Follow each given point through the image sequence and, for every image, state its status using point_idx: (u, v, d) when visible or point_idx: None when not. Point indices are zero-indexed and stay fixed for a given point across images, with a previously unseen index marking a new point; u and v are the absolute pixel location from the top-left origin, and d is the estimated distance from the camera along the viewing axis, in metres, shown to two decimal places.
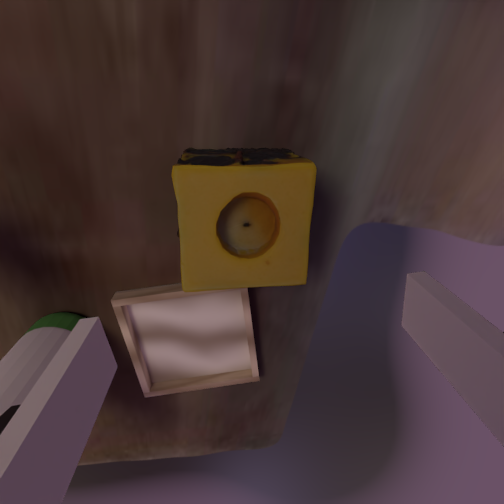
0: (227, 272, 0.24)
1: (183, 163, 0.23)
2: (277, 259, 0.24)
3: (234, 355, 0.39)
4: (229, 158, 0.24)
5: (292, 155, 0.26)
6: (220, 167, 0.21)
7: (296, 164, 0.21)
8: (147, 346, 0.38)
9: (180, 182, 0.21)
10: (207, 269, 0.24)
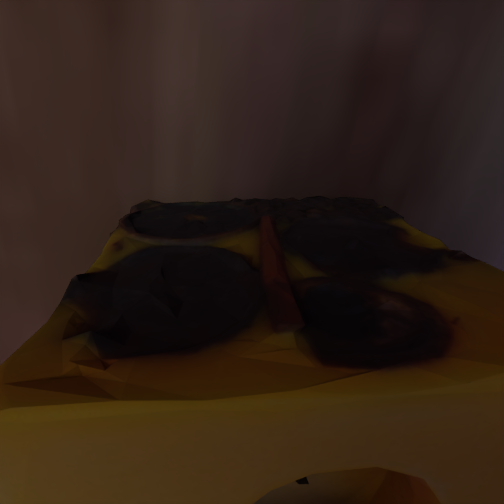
0: None
1: (84, 299, 0.07)
2: None
3: None
4: (244, 266, 0.07)
5: (413, 232, 0.10)
6: (211, 402, 0.04)
7: None
8: None
9: (11, 474, 0.04)
10: None
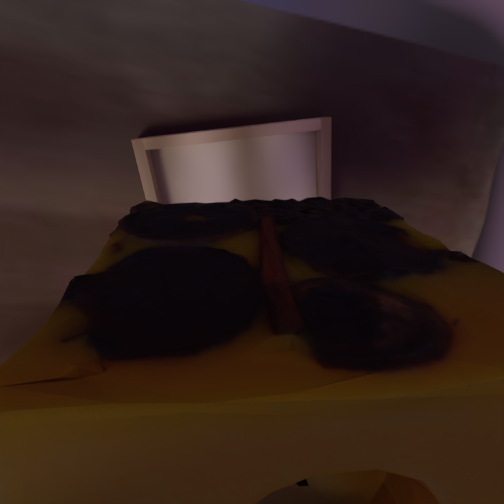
0: None
1: (83, 301, 0.07)
2: None
3: (283, 159, 0.25)
4: (244, 267, 0.07)
5: (412, 233, 0.10)
6: (210, 405, 0.04)
7: None
8: None
9: (9, 477, 0.04)
10: None
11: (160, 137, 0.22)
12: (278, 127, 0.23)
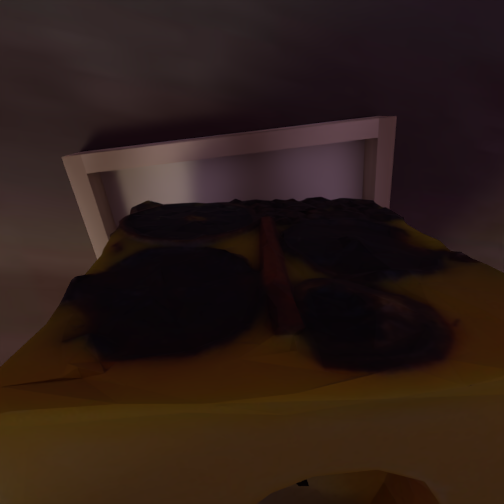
0: None
1: (83, 301, 0.07)
2: None
3: (313, 182, 0.16)
4: (244, 267, 0.07)
5: (413, 233, 0.10)
6: (211, 405, 0.04)
7: None
8: None
9: (10, 477, 0.04)
10: None
11: (111, 152, 0.13)
12: (308, 134, 0.14)
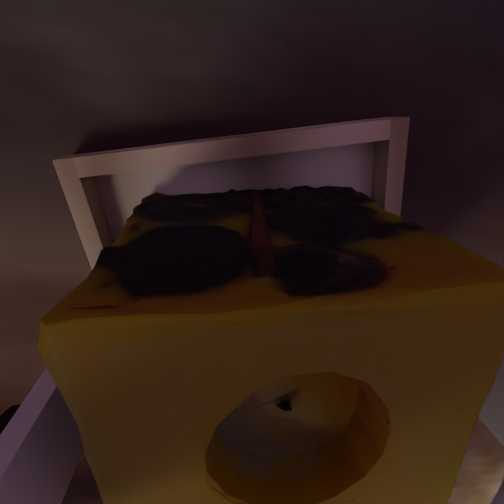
0: None
1: (112, 264, 0.08)
2: None
3: None
4: (236, 238, 0.09)
5: (379, 211, 0.11)
6: (209, 316, 0.06)
7: (466, 290, 0.06)
8: None
9: (74, 369, 0.06)
10: None
11: (105, 155, 0.12)
12: (315, 136, 0.13)
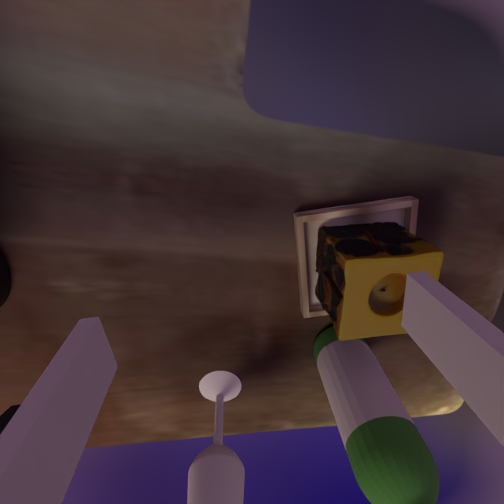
0: (372, 326, 0.33)
1: (339, 250, 0.33)
2: None
3: (383, 222, 0.39)
4: (369, 243, 0.33)
5: (409, 233, 0.35)
6: (377, 259, 0.30)
7: (430, 253, 0.30)
8: None
9: (349, 270, 0.30)
10: (358, 324, 0.33)
11: (313, 215, 0.37)
12: (385, 206, 0.37)
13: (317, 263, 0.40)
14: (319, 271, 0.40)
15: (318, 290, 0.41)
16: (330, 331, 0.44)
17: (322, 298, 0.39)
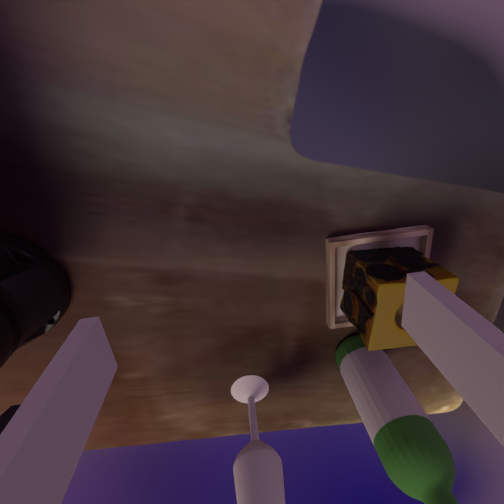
0: (396, 338, 0.39)
1: (370, 274, 0.38)
2: None
3: (402, 246, 0.45)
4: (394, 267, 0.39)
5: (426, 259, 0.41)
6: (405, 283, 0.36)
7: (448, 279, 0.36)
8: None
9: (381, 292, 0.36)
10: (385, 337, 0.39)
11: (344, 241, 0.42)
12: (405, 234, 0.43)
13: (344, 281, 0.45)
14: (345, 288, 0.46)
15: (344, 305, 0.47)
16: (351, 340, 0.50)
17: (349, 312, 0.45)
